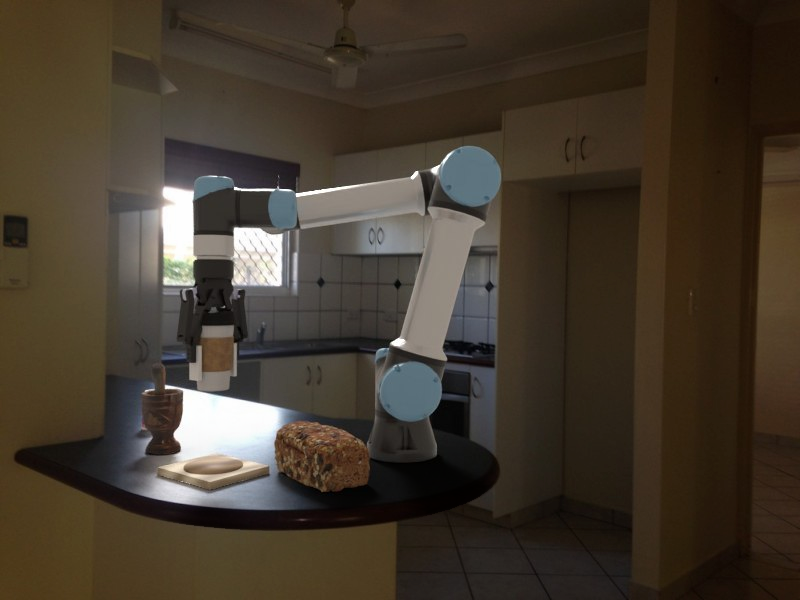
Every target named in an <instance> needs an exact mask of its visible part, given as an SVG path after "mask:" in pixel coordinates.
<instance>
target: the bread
mask: <svg viewBox="0 0 800 600" xmlns="http://www.w3.org/2000/svg"><path fill="white" fill-rule="evenodd" d="M273 445H274V446H273V447H274V455H275V456H274V459H275V461H276V464H275V465H276V467H277V470H278V472H279V473H280V474H283V473H284V474H285V475H286V476H288V477H289V478H291V479H292V480H295V481H297V482H298V483H301V484H302V485H305V486H306V487H312V488H313V489H318V490H319V491H321V493H323V492H325V493H329V492H331V491H332V492H340V491H342V490H343V489H345V488H357V487H360V486H361V487H363V486H366V485H367V484H368V482H369V477H370V470H371V469H370V468H371V467H370V466H371V465H370V459H371V458H370V454H369V450H368V448H367V444H365V443H364V442H363V441H362V440H361V439H359V438H357V437H355V436H354V435H352V434H351V433H349V432H348V431H346V430H343V429H342V428H338V427H334V426H333V425H328V424H320V422H316V421H315V422H311V421H308V420H304V421H303V420H299V421H293V422H290V423H286V424H284V425H282V427H281V428H279V429H278V430H277V431H276V433H275V439H274V442H273Z"/></svg>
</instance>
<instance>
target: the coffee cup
mask: <svg viewBox="0 0 800 600" xmlns="http://www.w3.org/2000/svg"><path fill="white" fill-rule="evenodd" d="M194 313H195V312H193V316H194ZM195 315H199V314H195ZM234 325H236V320H235V314H234V311H225V312H219V311H216V312H209V313H207V314H203V318H202V322H201V326H202V333H201V336H200V339H199V342H198V344H197V345H199V346H202V381H196V388H197V391H200V392H221V391H227V390H229V389H230V382H231V376H230V371H231V363H232V353H233V344H234V336H233V332H234Z"/></svg>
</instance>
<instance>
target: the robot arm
mask: <svg viewBox="0 0 800 600" xmlns="http://www.w3.org/2000/svg"><path fill="white" fill-rule="evenodd" d="M501 182H502V172H501V167H500V165H499V163H498V162H497V159H496V158H495V157H494V156H493V155H492V154H491V153H490V152H489V151H487V150H485V149H483V148H481V147H479V146H474V145H465V146H460V147H458V148H456V149H453V150H452V151H450V152H448V153H447V154H446V156H444V158H443V160H442V161H441V163H440V164H439V165H437V166H433V167H431V168H427V169H424V170H423V169H422V170H417V171H414V172H413V175H412V176H408V177H402V178H395V179H389V180H388V179H387V180H382V181H376V182H375V181H374V182H369V183H361V184H355V185H347V186H341V187H334V188H326V189H321V190H320V189H319V190H314V191H305V192H299V193H296V192H295V191H294V190H292V189H281V188H277V187H276V188H239V187H236V186H235V181H234V180H233V178H230V177H227V176H217V175H204V176H200V177H197V178H196V180H194V183H193V184H194V185H193V197H192V206H193V207H192V211H193V212H192V213H193V215H192V216H193V217H192V219H193V221H192V222H193V225H192V227H193V231H192V232H193V238H192V239H193V254H192V255H193V256H194V257H195V258H196V259H194V261H193V262H192V264H193V265H192V266H193V267H192V271H193V272H192V273H193V274H192V276H193V279H194V284H193V286H192V287H191V288H182V289H181V288H180V290H179V296H180V308H179V316H178V325H177V332H176V342H178V343H182V345H184V346H185V348H186V349H185V353H186V359H185V360H186V362H187V363H189V366H188V367H189V370H188V371H189V378H188V380H189V381H196V382H197V381H202V346H199V345H197V344H198V342H199V339H200V336H201V333H202V326H201V322H202V318H203V314H207V313H211V310H212V308H216V312H225V311H234V314H235V320H236V325H234V332H233V336H234V344H233V353H232V363H231V371H230V377H237V376H238V373H237V372H238V368H237V367H238V362H237V361H238V359H239V358H240V344H242V343H243V341H244V339H248V336H249V333H248V332H249V331H248V323H247V316H246V315H247V314H246V307H245V298H246V297H245V296H246V290H245V289H243V288H235V287H234V285H233V279H234V278H235V277H234V276H235V268H234V267H235V262H234V260H232V258H234V256H235V233H234V231H235V228H238V229H261V230H262V231H263V232H264V233H265V234H268V235H271V236H272V235H273V236H275V235H282V234H284V233H286V232H291V231H292V232H293V231H297V230H305V229H311V228H318V227H323V226H331V225H337V224H338V225H339V224H345V223H353V222H359V221H365V220H366V221H367V220H370V219H371V220H372V219H378V218H379V219H380V218H385V217H394V216H401V215H406V214H413V213H416V214H418V215H420V216H422V217H425V216H431V217H430V218H432V219H431V225H430V227H429V231H428V234H427V239H426V241H425V246H424V250H423V253H422V257H421V260H420V264H419V267H418V271H417V274H416V278H415V281H414V286H413V289H412V293H411V296H410V301H409V303H408V308H407V310H406V311H407V312H406V315H405V318H404V322H403V325H402V329H401V332H400V336H399V337H397V338H396V339H395V340H393V341H391V342H390V343H389V346H388V348H387V347H385V348H379V349H378V350H376V353H375V359H374V366H375V370H374V371H375V380H374V381H375V382H374V385H375V387H374V388H375V389H374V390H375V391H374V393H375V397H374V398H375V399H374V400H375V401H374V403H375V404H374V407H375V408H374V409H375V410H374V411H375V412H374V415H375V417H374V421H373V423H372V424H373V425H372V428H371V431H370V433H369V437H368V440H367V443H366V447H367V448H368V450H369V454H370V459H373V460H375V461H376V460H377V461H381V462H387V463H406V464H407V463H420V462H425V461H429V460H432V459H435V458H436V457H437V455H438V453H437V451H438V449H437V448H438V447H437V442H436V439H435V434H434V431H433V428H432V424H431V421H430V416H431V414H433V412H435V410H436V409H437V408H438V406H439V404H440V402H441V399H442V394H443V393H442V392H443V387H442V386H443V385H442V380H443V376H444V372H445V369H446V365H447V361H448V357H447V356H446V353H445V352H444V349H443V347H444V343H445V340H446V336H447V333H448V328H449V326H450V321H451V318H452V315H453V310H454V308H455V303H456V299H457V297H458V292H459V289H460V286H461V282H462V279H463V278H462V277H463V276H464V275H463V274H464V271H465V267H466V265H467V264H466V263H467V260H468V256H469V253H470V251H471V246H472V243H473V240H474V236H475V232H476V231H477V230H478V229H480V228H481V227H483V226H485V225H486V221H487V217H488V214H489V210H490V207H491V205H492V204H491V203H492V200H493V199H494V198H495V197H496V196H497V194H498V193H499V190H500V186H501ZM196 298H197V300H196V302H195V299H196ZM230 298H231V299H230ZM193 313H194V316H193ZM195 314H199V315H195Z"/></svg>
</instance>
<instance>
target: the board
mask: <svg viewBox="0 0 800 600" xmlns="http://www.w3.org/2000/svg"><path fill="white" fill-rule="evenodd" d="M156 475H157V476H159V477H162V476H164V478H166V477H167V479H169V478H172V479H171V480H173V479H175V480H174V481H176V480H179V481H183V482H187V483H190V484H193V485H196V486H199V487H198V488H200V487H202V488H201V489H203V488H206V489H205V490H207V489H209V490H208V491H212V490H211V489H213V490H216V489H215V488H217V489H220V488H223V487H222V486H224V487H226V486H225V485H227V486H230V485H229V484H231V485H233V484H232V483H234V484H236V483H235V482H238V483H240V482H239V481H241V482H243V481H242V480H245V481H247V480H246V479H248V480H251V478H252V479H255V478H259V477H262V475H263V476H266V475H270V465H267V464H262V463H259V462H255V461H251V460H247V459H243V458H238V457H233V456H230V455H225V454H220V453H217V452H216V453H212V454H209V455H208V454H207V455H204V456H200V457H194V458H191V459H187V460H182V461H178V462H174V463H170V464H165V465H160V466H158V467H157V468H156ZM258 476H259V477H258ZM254 477H255V478H254ZM179 481H178V482H179ZM183 482H182V483H183ZM190 484H189V485H190ZM193 485H192V486H193ZM196 486H195V487H196ZM219 487H220V488H219Z"/></svg>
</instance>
